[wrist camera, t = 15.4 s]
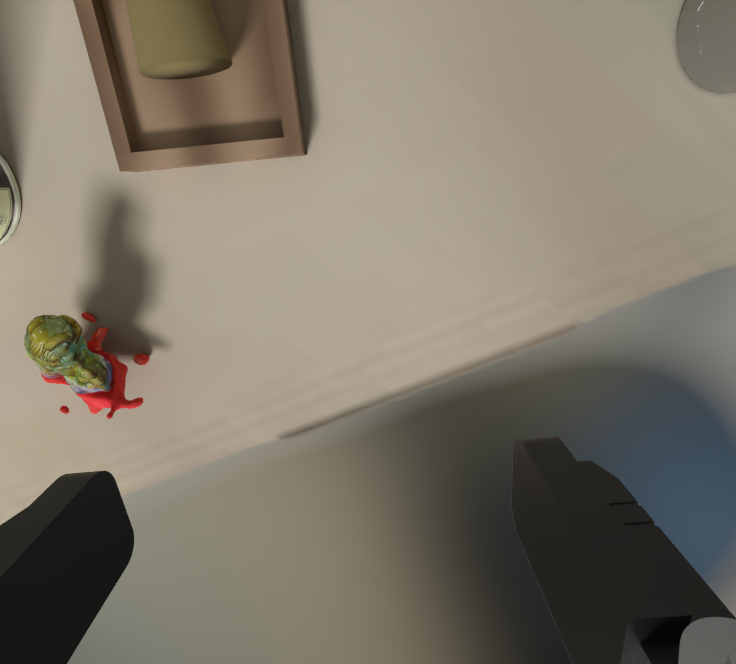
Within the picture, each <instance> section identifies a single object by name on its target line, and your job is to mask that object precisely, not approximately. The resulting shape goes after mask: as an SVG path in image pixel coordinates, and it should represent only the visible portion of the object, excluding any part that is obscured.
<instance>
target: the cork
mask: <svg viewBox="0 0 736 664" xmlns="http://www.w3.org/2000/svg"><path fill="white" fill-rule="evenodd" d="M125 1H126V6H127V11H128V16H129V21H130V26H131V31H132V36H133V41H134V47H135V52H136V57H137V62H138V67H139V72H140V74H141V75H142V76H144V77H147V78H152V79H165V80H173V79H187V78H196V77H201V76H207V75H211V74H215V73H218V72H221V71H224V70H226V69H228V68H229V67H231V66H232V63H233V62H232V59H231V56H230V54H229V51H228V48H227V45H226V43H225V40H224V37H223V34H222V31H221V29H220V26H219V23H218V20H217V18H216V15H215V12H214V9H213V7H212V4H211V1H210V0H125Z"/></svg>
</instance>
